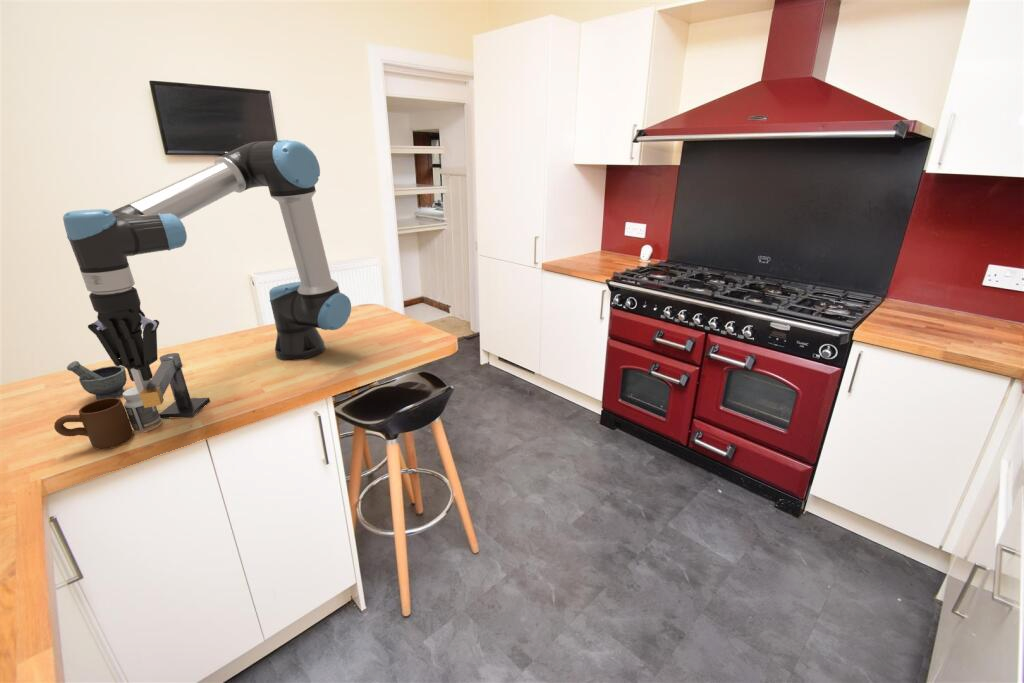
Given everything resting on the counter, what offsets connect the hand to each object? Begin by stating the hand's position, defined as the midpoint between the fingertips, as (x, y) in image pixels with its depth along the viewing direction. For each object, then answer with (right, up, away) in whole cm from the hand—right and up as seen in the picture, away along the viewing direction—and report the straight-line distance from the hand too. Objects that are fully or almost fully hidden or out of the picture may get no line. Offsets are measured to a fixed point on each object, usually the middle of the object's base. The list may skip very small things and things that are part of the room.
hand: (146, 393), depth 102 cm
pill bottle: (-8, -10, +10) cm, 16 cm away
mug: (-13, -12, +4) cm, 18 cm away
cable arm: (0, +2, +5) cm, 5 cm away
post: (-4, -6, +18) cm, 19 cm away
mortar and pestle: (-30, -4, +25) cm, 40 cm away
